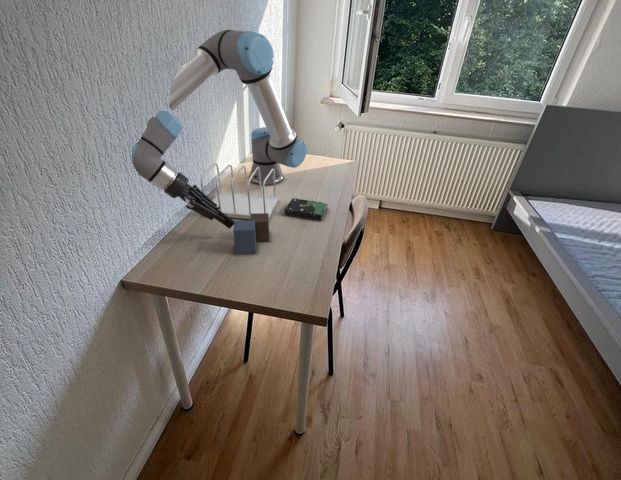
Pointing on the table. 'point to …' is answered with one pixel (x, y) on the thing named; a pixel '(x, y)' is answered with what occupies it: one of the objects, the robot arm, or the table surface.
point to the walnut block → (261, 226)
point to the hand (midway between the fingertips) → (232, 225)
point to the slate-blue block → (245, 237)
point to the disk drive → (306, 209)
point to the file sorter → (243, 197)
